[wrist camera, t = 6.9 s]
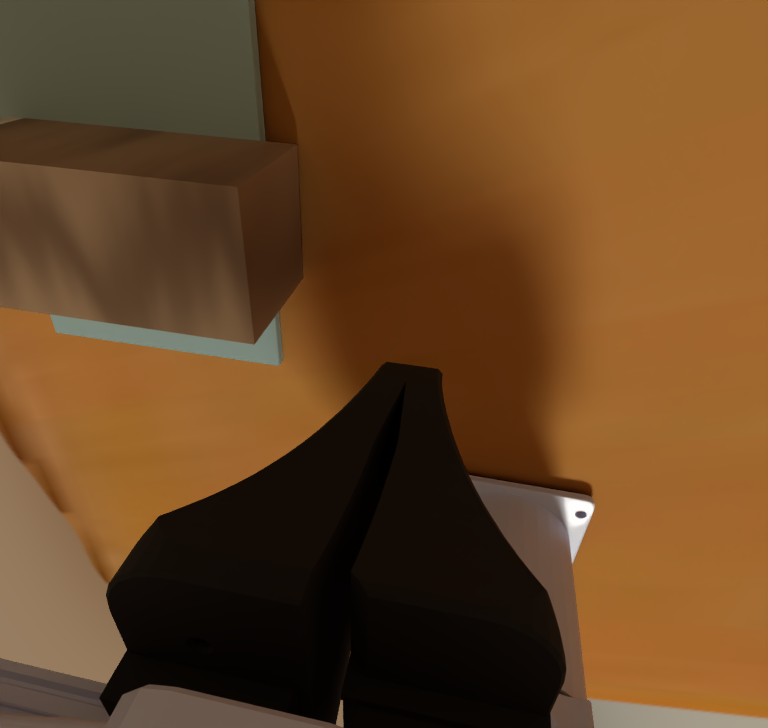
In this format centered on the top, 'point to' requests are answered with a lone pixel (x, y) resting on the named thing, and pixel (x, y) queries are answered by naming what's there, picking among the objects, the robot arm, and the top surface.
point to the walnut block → (148, 227)
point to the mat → (139, 97)
